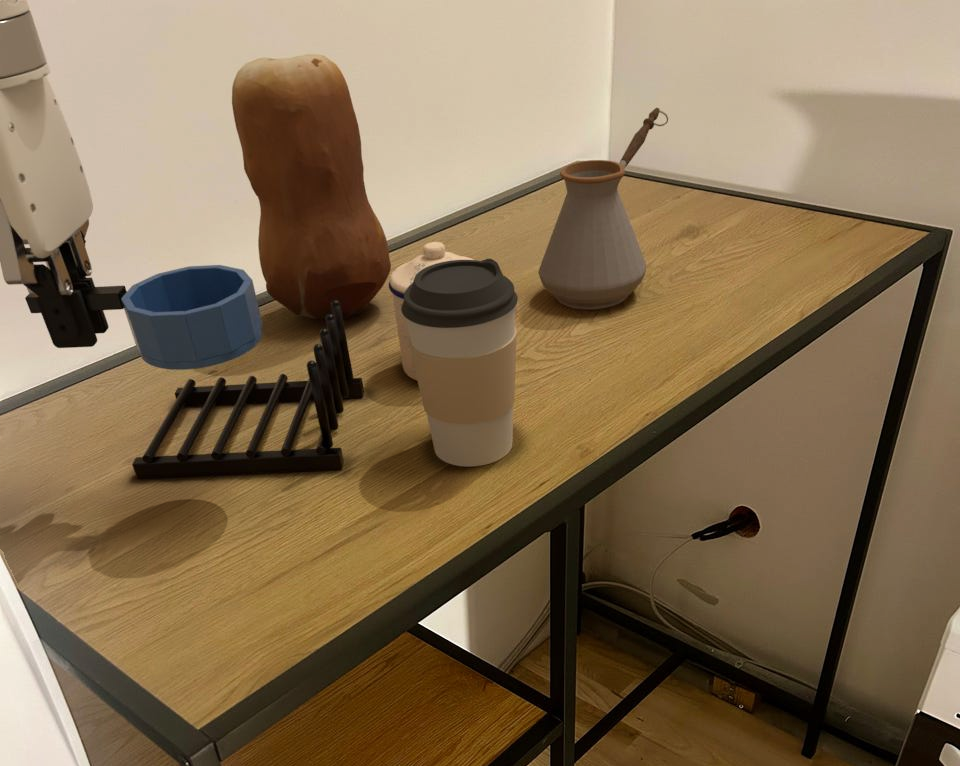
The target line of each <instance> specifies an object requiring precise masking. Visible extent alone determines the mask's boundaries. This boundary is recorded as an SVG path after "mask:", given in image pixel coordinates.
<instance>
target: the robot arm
mask: <svg viewBox="0 0 960 766" xmlns="http://www.w3.org/2000/svg"><path fill="white" fill-rule="evenodd" d="M50 73H51V70H50V67H49V64H48V61H47V58H46V55H45V52H44V48H43V46H42V43H41V39H40V36H39V33H38V30H37V27H36V24H35V21H34V18H33V15H32V12H31V10H30V6H29V3H28V0H0V267H1V268H0V269H1V272H2V276H3V277H2V278H3V280H4V282H5V283H6V284H7V285H10V286H11V285H23V286H24V287H25V288H26V290H27V292H28V294H30V296H31V297H35V298H36V301H37V303H38V306H39V309H40V311H41V313H40V314H41V317H42V318H43V322H44V324H45V326H46V330H47V332H48V334H49V337H50V339H51V343H52V345H53V346H54V347H55V348H57V349H70V348H71V349H73V348H74V349H75V348H91V347H95V345H96V344H97V343H98V337H97V335H98V334H105V333H106V332H107V331H108V330H109V324H108V323H109V322H108V321H107V318H106V314H105V312H104V311H105V310H97V311H87V309H86V306H85V303H84V300H83V297H82V294H81V292H80V290H73V288H83V287H96V286H95V285H96V284H95V283H94V279H93V276H92V273H93V268H92V264H91V261H90V258H89V254H88V251H87V248H86V242H87V240H86V239H85V238H86V235H87V232H88V230H89V226H90V218H91V216H92V214H93V210H94V205H93V198H92V196H91V195H92V194H91V190H90V186H89V184H88V180H87V177H86V173H85V171H84V167H83V164H82V162H81V161H82V160H81V158H80V155H79V152H78V150H77V147H76V145H75V142H74V139H73V137H72V134H71V131H70V129H69V126H68V123H67V121H66V119H65V115H64V114H63V111H62V109H61V106H60V104H59V100H58V99H57V97H56V96H57V95H56V94H55V92H54V91H55V90H54V89H53V87H52V85H51V82H50V81H49V78H48V75H49V74H50ZM25 245H29V247H26V246H25ZM35 263H37V264H35ZM38 263H40V264H38ZM41 263H42V264H41ZM44 263H45V264H44ZM91 276H92V277H91Z"/></svg>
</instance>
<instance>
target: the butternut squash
mask: <svg viewBox="0 0 960 766" xmlns="http://www.w3.org/2000/svg"><path fill="white" fill-rule="evenodd" d="M231 106H232V113H233V119H234V123H235V129H236V132H237V135H238V139H239V143H240V147H241V151H242V161H243V170H244V173H245V175H246V176H247V179H248V181H249V184H250V186H251V189H252V190H253V192H254V194H255V195H256V197H257V200H258V202H259V207H260V216H259V225H258V239H257V242H258V243H257V245H258V259H259V264H260V269H261V273H262V276H263V279H264V281H265V289H266V292H267V294H268V295H269V296H270V297H271V298H272V299H274V300H275V301H276V302H278V304H281V306H282V307H285V308H286V309H287V310H288V311H290V312H291V313H293V314H294V315H296V316H300V317H305V318H311V319H315V320H316V319H317V320H318V319H325V318H326V315H328V314H332V315H333V312H332V307H331V302H332V301H333V300H338V301H339V302H340V306H341V312H342V317H343V320H346V319H348V318H350V317H352V316H354V315H356V314H359V313H361V312H362V311H363V310H364V308H366V306H367V305H369V304H370V302H371V301H372V300H373V299H374V298H375V297H376V296H377V294H378V293H379V292H380V290H381V289H382V288H383V287H384V285H385V283H386V282H387V279H388V277H389V275H390V272H391V268H392V264H391V259H390V258H391V257H390V252H389V251H390V250H389V244H388V239H387V237H386V234H385V231H384V229H383V225H382V224H381V222H380V220H379V219H378V216H377V215H376V213H375V212H374V210H373V208H372V206H371V203H370V202H369V199H368V196H367V195H368V194H367V191H366V185H365V180H364V179H365V177H364V172H365V171H364V161H363V152H362V139H361V133H360V126H359V123H358V118H357V114H356V112H355V109H354V105H353V101H352V98H351V93H350V89H349V86H348V83H347V81H346V78H345V76H344V73H342V71H341V69H340V67H339V66H338V64H336V63H335V62H334V61H332V60H331V59H329V58H328V57H326V56H325V55H323V54H316V53H315V54H314V53H313V54H303V55H302V54H301V55H295V56H291V57H283V58H282V57H281V58H271V57H259V58H256V59H252V60H250V61H248V62H246V63H244V65H242V66H241V67H240V69H239V70H237V72H236V74H235V77H234V79H233V82H232V87H231Z"/></svg>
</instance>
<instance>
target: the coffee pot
mask: <svg viewBox="0 0 960 766" xmlns="http://www.w3.org/2000/svg"><path fill="white" fill-rule="evenodd" d="M660 114H663V115H664V116H665V118H666V122H663V123H661V124H659V123H656V122H655V121H656V120H657V119H658V117H659V115H660ZM642 122H643V123H642V126H641V127H640V128H639V130H637V132H635V134H634V135H633V137H632V139H631V140H630V142H629V144H628V146H627V148H626V149H625V151H624V153H623V155H622V157H621V158H620V160H619V162H617V161H613V160H606V159H592V160H582V161H576V162H572V163H570V164H568V165H565V166H563V167H561V169H560V171H559V175H560V177H561V179H563V181H564V184H565V188H566V195H565V197H564V200H563V204H562V205H561V208H560V211H559V214H558V217H557V219H556V222H555V225H554V228H553V230H552V233H551V236H550V238H549V241H548V244H547V246H546V249H545V252H544V255H543V258H542V259H541V263H540V266H539V269H538V277H539V280H540V282H541V284H542V286H543V288H544V289H545V290H546V291H547V292H548V293H549V294H551V295H552V296H553V298H556V299H557V302H558V303H560V305H564V306H565V307H567V308H572V309H577V310H600V309H606V308H611V307H613V306H616V305H620V304H621V303H622V302H624V301H625V300H626V299H627V298H628V296H629V295H630V294H632V293H633V292H634V291H635V290H636V289H637V288H638V287H639V286H640V284H641V283H642V282H643V279H644V278H645V276H646V272H647V263H646V260H645V257H644V255H643V252H642V249H641V247H640V245H639V242H638V239H637V237H636V234H635V231H634V229H633V226H632V224H631V221H630V219H629V215H628V214H627V211H626V209H625V206H624V203H623V200H622V198H621V195H620V192H619V190H618V188H619V184H620V182H621V180H622V178H624V176H625V173H626V167H627V166H628V165H629V163H630V162H631V161H632V159H634V157H635V156H636V154H637V153H638V152H639V150H640V149H641V147H642V146H643V145H644V143H645V141H646V138H647V137H648V134H649V131H651V130H652V129H653V128H654V127H655V126H657V127H664V126H665V125H666V124H668V122H669V116H668V114H667V113H666V112H664V111H663V110H660V108H659V107H655V108H654V109H653V110H652V111H650V112H649V113H648V117H647V118H645V119H644V120H643V121H642Z"/></svg>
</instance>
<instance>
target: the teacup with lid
mask: <svg viewBox="0 0 960 766" xmlns="http://www.w3.org/2000/svg"><path fill="white" fill-rule="evenodd" d="M422 251H423V253H422V254H420V255H419V254H418V256H416V257H415V258H413V259H412V260H409V261H407V262H404V263H403V264H401V265H399V266H397V268H395V269H394V270H393V272H392V273H391V275H390V276H389V281H388V289H389V291H390V293H392V294H391V295H392V301H393V307H394V314H395V321H396V322H395V323H396V327H397V328H396V329H397V335H398V343H399V350H400V356H401V357H400V358H401V363H402V364H401V365H402V369H403V371H404V373H405V374H406V375H407V376H408V377H409V378H411V379H412V380H414V381H416V382H418V380H417V376H416V371H415V367H414V363H413V358H412V354H411V350H410V345H409V336H410V334H409V330H408V325H407V321H406V317H405V316H404V315H403V314H402V311H401V307H402V304H403V302H404V293H405V291H406V289H407V288H408V287H409V286H410V285H411V284H412V283H413V281H414V278H415V276H416V274H417V273H418V272H420V271H421V270H422V269H424V268H426V267H428V266H431V265H434V264H437V263H441V262H446V261H452V260H475V258H470V257H468V256H464V255H457V254H456V253H454V252H450V251H446V245H445V244H444V243H442V242H440V241H431V242H428V243H426V244H424V246H423V248H422ZM518 312H519V301H518V302H517V304H516V306H515V319H516V317H517V315H518Z"/></svg>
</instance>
